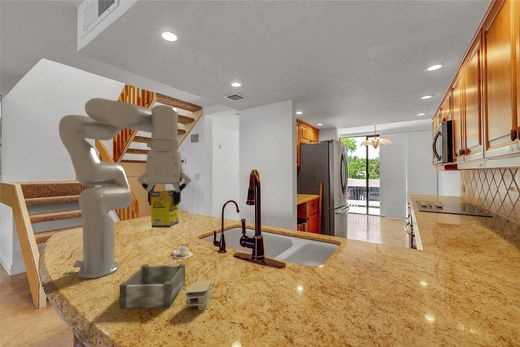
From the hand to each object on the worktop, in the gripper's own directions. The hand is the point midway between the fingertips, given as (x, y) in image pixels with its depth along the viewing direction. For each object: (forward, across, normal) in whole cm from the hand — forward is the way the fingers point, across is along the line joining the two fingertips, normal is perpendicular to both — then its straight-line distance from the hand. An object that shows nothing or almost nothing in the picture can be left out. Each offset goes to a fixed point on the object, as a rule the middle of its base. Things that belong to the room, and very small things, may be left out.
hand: (164, 204), depth 70 cm
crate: (+27, -2, -2) cm, 27 cm away
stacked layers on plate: (+27, +13, -8) cm, 31 cm away
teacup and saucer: (+28, -2, +33) cm, 44 cm away
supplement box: (+7, 0, 0) cm, 7 cm away
